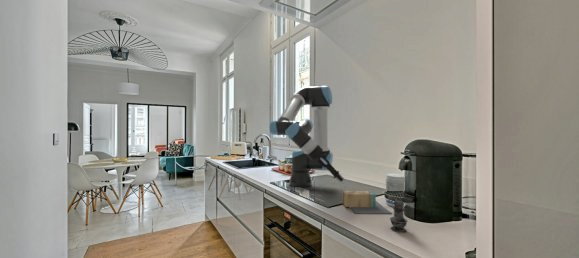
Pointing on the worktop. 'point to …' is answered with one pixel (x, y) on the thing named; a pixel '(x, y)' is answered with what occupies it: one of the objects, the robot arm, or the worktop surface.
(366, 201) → the tall block
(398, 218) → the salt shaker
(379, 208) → the mat
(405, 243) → the worktop surface
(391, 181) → the supplement tub
